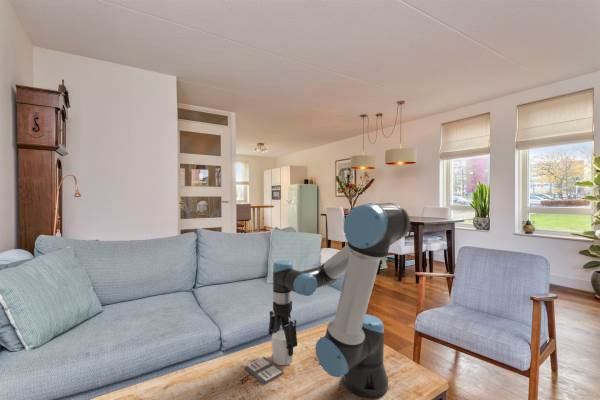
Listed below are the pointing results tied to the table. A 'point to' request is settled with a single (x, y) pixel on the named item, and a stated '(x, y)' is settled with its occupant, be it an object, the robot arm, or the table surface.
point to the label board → (263, 370)
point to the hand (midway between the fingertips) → (282, 358)
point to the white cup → (279, 347)
